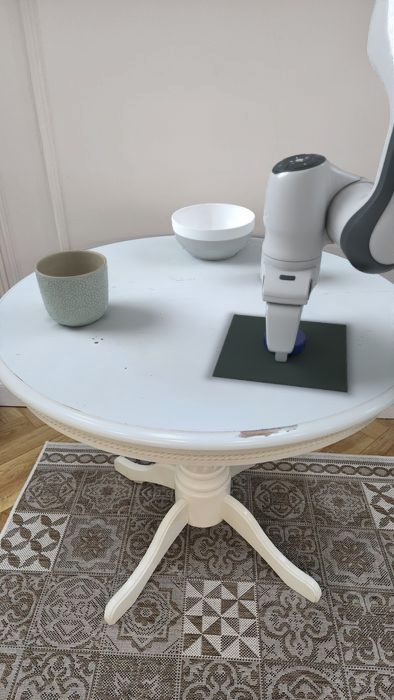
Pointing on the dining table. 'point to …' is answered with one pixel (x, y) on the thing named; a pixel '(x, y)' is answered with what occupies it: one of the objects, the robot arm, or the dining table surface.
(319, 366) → the mat
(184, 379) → the dining table surface
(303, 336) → the jam lid
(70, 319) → the planter
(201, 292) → the dining table surface
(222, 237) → the bowl
